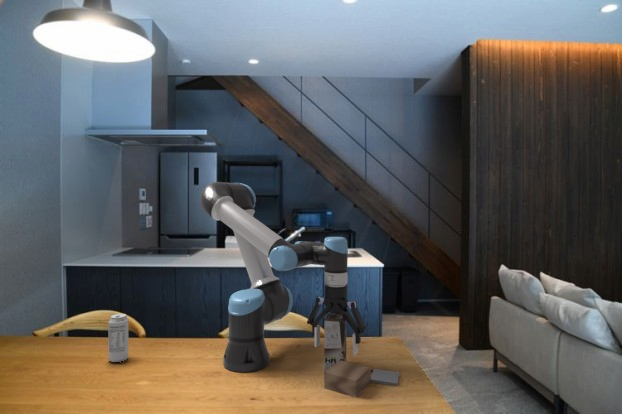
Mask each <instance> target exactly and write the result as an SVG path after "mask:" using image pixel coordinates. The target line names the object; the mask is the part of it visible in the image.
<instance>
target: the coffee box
mask: <svg viewBox="0 0 622 414" xmlns="http://www.w3.org/2000/svg"><path fill="white" fill-rule="evenodd" d="M323 329H324V334H323V335H324V338H323V339H324V340H323V341H324V342H323V343H324V344H323V345H324V346H323V371H324V372H325V371H327V370H328V369H330V368H331V367H332V366H334V365H335V364H336V363H338V362H339V361H345V362H347V321H346V319H345V318H344V317H343V316H342V315H341V314H335V313H330V312H328V313H327V314H326V316H325V319H324V328H323Z"/></svg>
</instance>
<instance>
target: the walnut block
mask: <svg viewBox="0 0 622 414" xmlns="http://www.w3.org/2000/svg"><path fill="white" fill-rule="evenodd" d="M371 375H372V367H369V366H364V365H361V364H357V363H353V362H349V361H346V362H345V361H339V362H338V363H336V364H335V365H334V366H332V367H331V368H330V369H328V370H327V371H325V370H324V378H323V379H324V384H323V385H324V389H325V390H328V391H333V392H335V393H339V394H343V395H345V396H349V397H352V398H357V397H359V395H360V394H362V393H363V391H365V390H366V389H367V388H368V387H369V385H371V384H372V382H371Z"/></svg>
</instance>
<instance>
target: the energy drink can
mask: <svg viewBox="0 0 622 414" xmlns="http://www.w3.org/2000/svg"><path fill="white" fill-rule="evenodd" d="M107 322H108V327H107V328H108V331H107V332H108V338H107V339H108V340H107V343H108V360H109V361H111V362H120V363H122V362H121V361H123V362H125V361H127V359H128V358H129V318H128V317H127V314H125V313H115V314H112V315H110V318H109V320H108V321H107ZM124 360H125V361H124ZM111 362H110V363H111Z"/></svg>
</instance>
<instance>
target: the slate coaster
mask: <svg viewBox="0 0 622 414" xmlns="http://www.w3.org/2000/svg"><path fill="white" fill-rule="evenodd" d="M400 374H401V373H400V371H395V370H394V371H393V370H386V369H379V368H378V369H377V368H374V369H373V371H372V372H371V384H372V383H374V384H381V385H387V386H392V387H393V386H394V387H397V386H398V384H399V381H400V380H399V379H400V376H401V375H400Z"/></svg>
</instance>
